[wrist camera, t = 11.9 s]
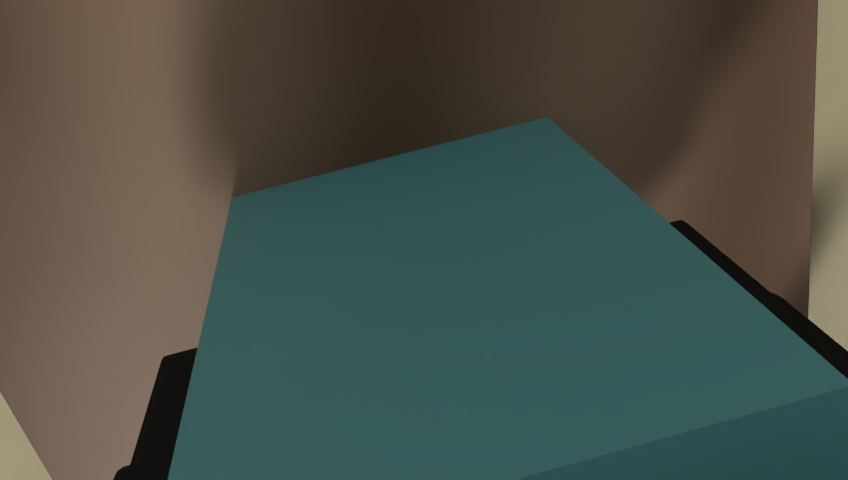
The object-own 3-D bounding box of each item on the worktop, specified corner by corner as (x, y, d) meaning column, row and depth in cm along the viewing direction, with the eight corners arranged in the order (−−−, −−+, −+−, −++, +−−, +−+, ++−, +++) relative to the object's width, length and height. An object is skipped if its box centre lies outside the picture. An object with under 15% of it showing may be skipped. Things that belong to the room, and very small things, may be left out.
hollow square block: (547, 116, 11) (855, 384, 5) (582, 372, 14) (827, 779, 7) (232, 197, 11) (144, 583, 5) (320, 444, 13) (339, 929, 7)
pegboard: (781, -279, 10) (1145, -413, 6) (776, 452, 17) (951, 655, 12) (-206, -49, 10) (-637, -7, 5) (169, 623, 16) (120, 905, 11)
